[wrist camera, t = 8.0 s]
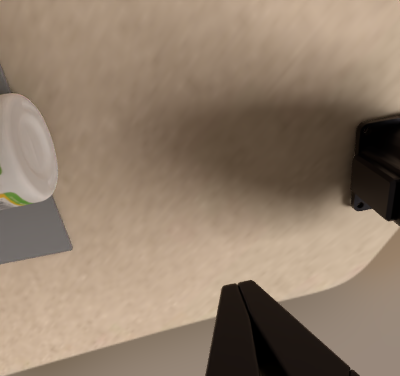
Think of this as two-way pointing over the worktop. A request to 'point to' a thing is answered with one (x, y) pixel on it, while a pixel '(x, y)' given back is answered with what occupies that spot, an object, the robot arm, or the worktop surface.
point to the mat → (30, 224)
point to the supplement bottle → (24, 153)
